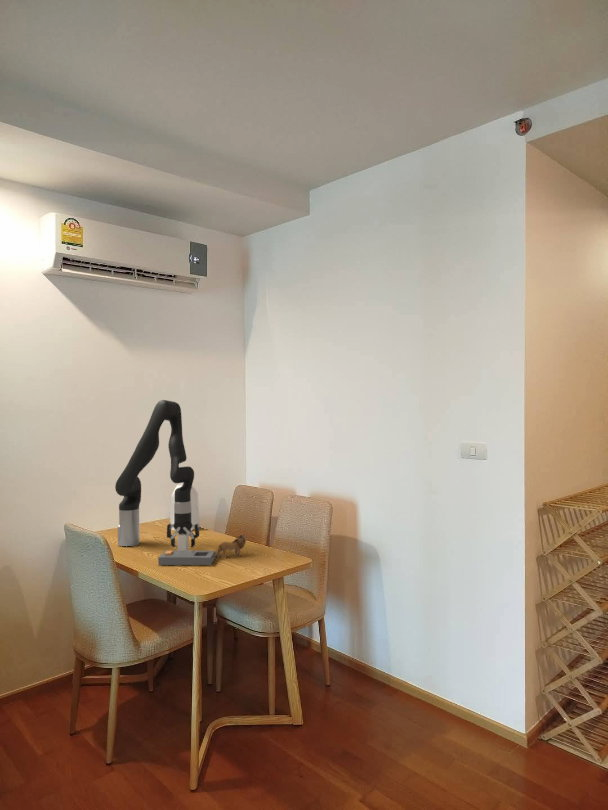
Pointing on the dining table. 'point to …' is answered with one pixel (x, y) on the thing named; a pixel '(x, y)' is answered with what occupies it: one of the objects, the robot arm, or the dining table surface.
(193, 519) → the milk
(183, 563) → the grey board with slot
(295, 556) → the dining table surface
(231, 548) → the lion figurine
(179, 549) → the white rectangular block
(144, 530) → the dining table surface
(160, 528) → the dining table surface
